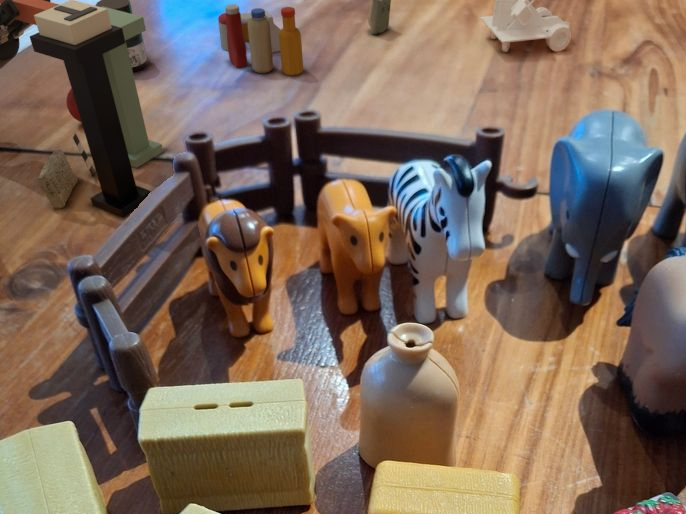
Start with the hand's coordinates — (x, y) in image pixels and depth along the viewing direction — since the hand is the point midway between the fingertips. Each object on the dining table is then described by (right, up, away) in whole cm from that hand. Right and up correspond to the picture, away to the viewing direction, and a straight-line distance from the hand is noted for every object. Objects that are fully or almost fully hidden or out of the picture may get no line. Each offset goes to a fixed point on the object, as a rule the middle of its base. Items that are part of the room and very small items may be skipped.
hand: (29, 0), depth 102 cm
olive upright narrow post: (+52, +34, +65) cm, 90 cm away
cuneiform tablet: (-2, -19, +22) cm, 29 cm away
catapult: (+85, +29, +60) cm, 108 cm away
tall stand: (+7, -22, +19) cm, 30 cm away
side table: (+6, -9, +29) cm, 31 cm away
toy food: (+25, +24, +57) cm, 66 cm away
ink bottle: (-3, +21, +54) cm, 58 cm away
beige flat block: (+3, -3, +1) cm, 4 cm away
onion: (-5, 0, +37) cm, 38 cm away
